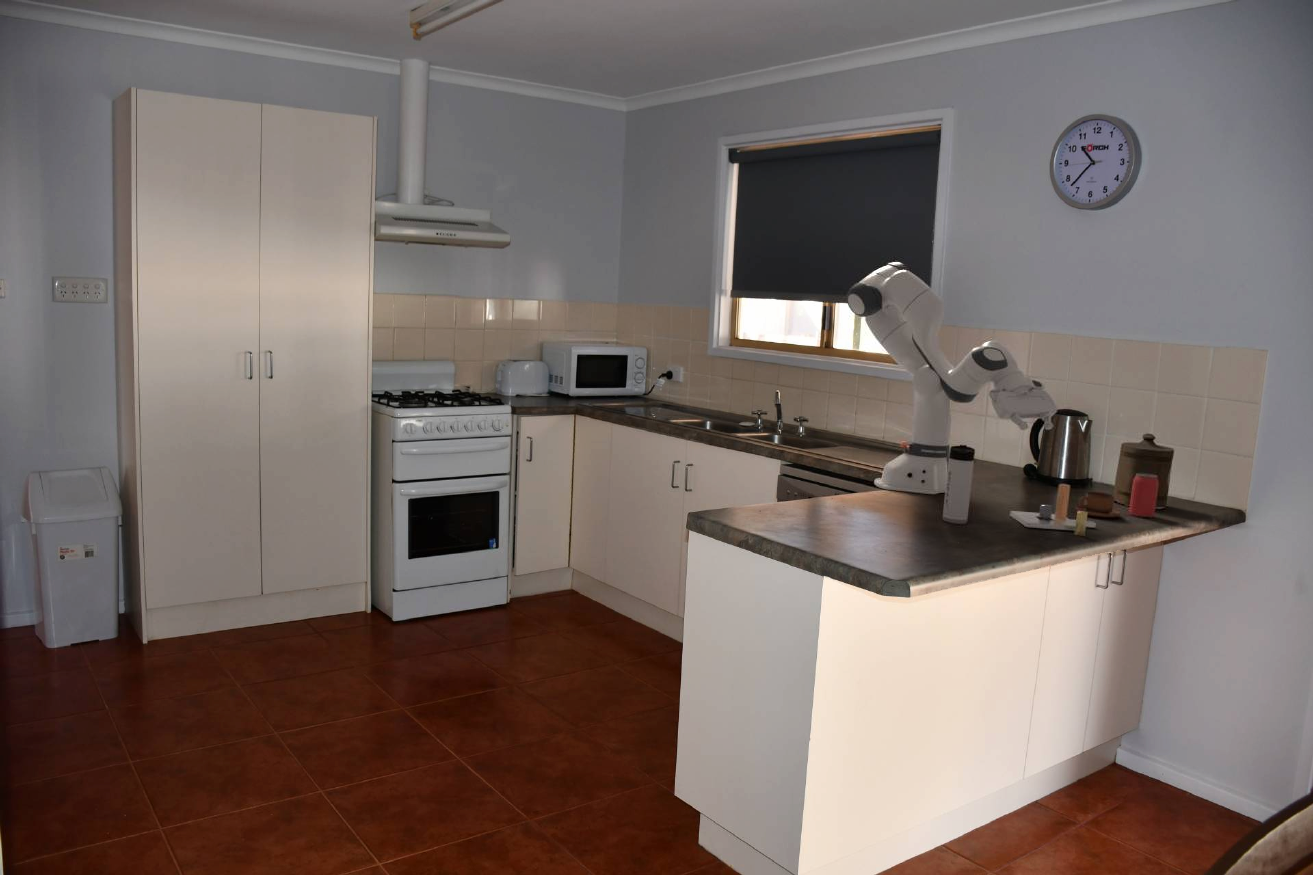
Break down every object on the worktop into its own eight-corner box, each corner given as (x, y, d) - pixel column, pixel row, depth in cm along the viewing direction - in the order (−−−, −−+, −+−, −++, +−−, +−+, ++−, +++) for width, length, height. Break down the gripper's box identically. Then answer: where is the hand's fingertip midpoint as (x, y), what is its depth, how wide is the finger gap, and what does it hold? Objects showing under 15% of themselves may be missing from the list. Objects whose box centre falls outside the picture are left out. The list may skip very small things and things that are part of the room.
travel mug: (967, 520, 262) (975, 446, 259) (966, 525, 256) (975, 449, 253) (943, 517, 264) (951, 443, 261) (941, 521, 258) (949, 446, 255)
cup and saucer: (1101, 521, 273) (1103, 499, 272) (1065, 511, 283) (1068, 490, 282) (1129, 519, 278) (1132, 498, 278) (1093, 510, 289) (1096, 489, 288)
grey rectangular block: (1040, 524, 262) (1042, 506, 262) (1036, 522, 265) (1038, 504, 265) (1051, 525, 262) (1054, 507, 262) (1047, 523, 265) (1050, 504, 265)
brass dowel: (1076, 535, 252) (1079, 512, 251) (1073, 533, 255) (1076, 510, 254) (1086, 536, 252) (1089, 513, 251) (1082, 533, 255) (1085, 511, 254)
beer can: (1153, 515, 286) (1159, 474, 284) (1154, 519, 280) (1160, 478, 278) (1128, 511, 289) (1134, 471, 287) (1128, 515, 283) (1134, 474, 281)
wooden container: (1177, 509, 297) (1187, 437, 294) (1137, 510, 293) (1147, 436, 289) (1140, 499, 311) (1150, 430, 308) (1101, 499, 307) (1111, 429, 303)
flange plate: (1026, 526, 257) (1030, 488, 256) (1009, 515, 271) (1014, 478, 270) (1103, 532, 256) (1109, 494, 255) (1083, 520, 270) (1088, 484, 269)
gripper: (993, 382, 274) (1016, 422, 267) (1046, 382, 283) (1070, 421, 276) (980, 396, 279) (1003, 436, 271) (1033, 396, 288) (1056, 434, 280)
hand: (1037, 428), depth 274 cm, fingers open, 8 cm apart
